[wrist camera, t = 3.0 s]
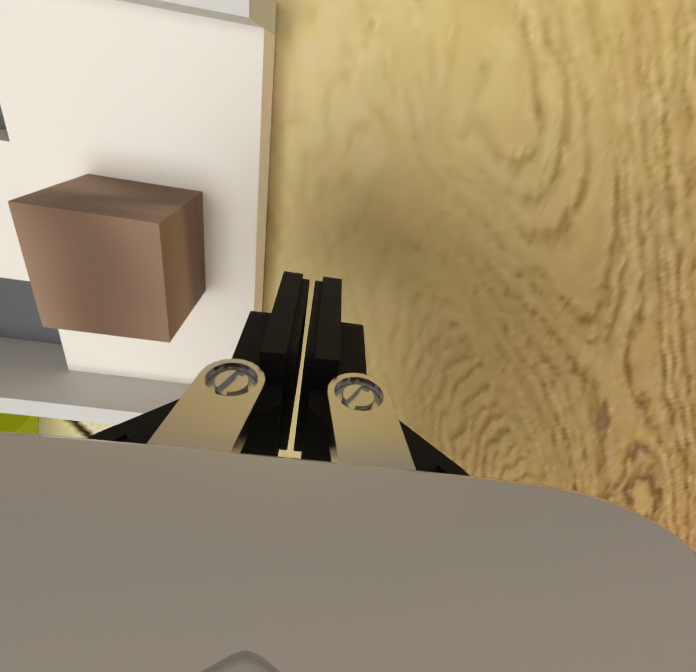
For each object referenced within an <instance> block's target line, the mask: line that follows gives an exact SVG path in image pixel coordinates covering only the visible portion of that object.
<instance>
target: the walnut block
mask: <svg viewBox="0 0 696 672" xmlns="http://www.w3.org/2000/svg"><path fill="white" fill-rule="evenodd" d="M8 205H9V208H10V212H11V215H12V219H13V222H14V226H15V230H16V233H17V237H18V240H19V244H20V247H21V251H22V255H23V258H24V262H25V265H26V269H27V272H28V276H29V280H30V283H31V287H32V290H33V294H34V297H35V301H36V305H37V308H38V312H39V315H40V319H41V322H42V326H43V327H48V328H56V329H64V330H72V331H80V332H88V333H96V334H104V335H112V336H120V337H128V338H136V339H144V340H152V341H160V342H168V343H170V342H171V340H172V339H173V337H174V336H175V334H176V333H177V332H178V330H179V329H180V327H181V326H182V324H183V323H184V321H185V320H186V319H187V317H188V316H189V314H190V313H191V311H192V310H193V308H194V307H195V306H196V304H197V303H198V301H199V300H200V298H201V297H202V295H203V294H204V292H205V291H206V282H205V252H204V222H203V192H202V191H196V190H189V189H183V188H176V187H170V186H163V185H157V184H151V183H144V182H138V181H131V180H125V179H118V178H112V177H105V176H99V175H93V174H86V175H83V176H80V177H77V178H74V179H71V180H68V181H65V182H62V183H59V184H56V185H53V186H50V187H48V188H45V189H42V190H39V191H36V192H33V193H30V194H27V195H24V196H21V197H18V198H15V199H12V200H9V201H8Z"/></svg>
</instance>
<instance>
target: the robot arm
mask: <svg viewBox="0 0 696 672" xmlns="http://www.w3.org/2000/svg"><path fill="white" fill-rule="evenodd" d="M309 281H310V280H307V279H303V274H300V273H293V272H285V271H284V273H283V277H282V280H281V283H280V287H279V290H278V293H277V297H276V300H275V303H274V307H273V310H272V313H266V312H258V311H250V313H249V316H248V318H247V321H246V323H245V326H244V328H243V331H242V334H241V336H240V339H239V341H238V344H237V346H236V349H235V351H234V354H233V357H232V359H223V360H219V361H216V362H213V363H211V364H209V365H207V366H206V367H205V368H204V369H203V370H201V371H200V373H199V374H198V375H197V377H196V378H195V379H194V381H193V382H192V383H191V385H190V386H189V387H188V389H187V390H186V391H185V393H184V394H183V395H182V397H181V398H180V399H177V400H175V401H173V402H170V403H168V404H165V405H163V406H161V407H158V408H156V409H153V410H151V411H149V412H146V413H144V414H141V415H139V416H137V417H134V418H132V419H129V420H127V421H125V422H122V423H120V424H117V425H115V426H113V427H110V428H108V429H105V430H103V431H101V432H98V433H96V434H94V435H92V436H91V437H89V438H87V439H85V438H74V437H63V436H53V435H42V434H27V433H11V432H0V672H696V553H695V552H694V551H693V550H692V549H691V548H690V547H689V546H688V545H687V544H686V543H685V542H684V541H683V540H681V539H680V538H679V537H678V536H676V535H675V534H674V533H672V532H671V531H670V530H668V529H667V528H665V527H663V526H662V525H660V524H658V523H656V522H655V521H653V520H651V519H649V518H647V517H645V516H643V515H641V514H639V513H637V512H635V511H632V510H630V509H627V508H625V507H622V506H620V505H618V504H615V503H613V502H610V501H608V500H605V499H601V498H598V497H595V496H591V495H588V494H585V493H582V492H577V491H573V490H568V489H563V488H558V487H554V486H546V485H539V484H531V483H524V482H517V481H509V480H502V479H493V478H483V477H473V476H469V475H468V474H467V473H466V472H465V471H464V470H463V469H462V468H461V467H459V466H458V465H457V464H455V463H454V462H453V461H452V460H450V459H449V458H448V457H446V456H445V455H444V454H442V453H441V452H440V451H438V450H437V449H436V448H435V447H433V446H432V445H431V444H429V443H428V442H427V441H425V440H424V439H423V438H421V437H420V436H419V435H417V434H416V433H415V432H414V431H412V430H411V429H410V428H408V427H407V426H406V425H404V424H403V423H402V422H400V421H399V419H398V416H397V414H396V411H395V408H394V405H393V402H392V399H391V396H390V393H389V392H388V390H387V388H386V387H385V386H384V385H383V384H382V383H381V382H380V381H379V380H377V379H375V378H373V377H371V376H368V375H367V373H366V359H365V344H364V329H363V325H359V324H351V323H343V322H341V291H342V279H336V278H329V277H323V282H322V281H315V288H314V295H313V302H312V309H311V316H310V323H309V330H308V337H307V344H306V352H305V359H304V367H303V376H302V384H301V393H300V401H299V410H298V418H297V426H296V435H295V443H294V451H301V452H302V455H301V459H297V458H287V457H278V452H279V449H281V450H287V446H288V440H289V433H290V427H291V420H292V414H293V407H294V401H295V394H296V388H297V381H298V375H299V368H300V361H301V353H302V344H303V335H304V326H305V317H306V308H307V300H308V291H309Z"/></svg>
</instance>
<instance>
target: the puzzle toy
mask: <svg viewBox="0 0 696 672" xmlns="http://www.w3.org/2000/svg"><path fill="white" fill-rule="evenodd" d="M38 421H39V417H37V416H27V415H18V414H9V413H0V432H11V433H27V434H37V433H38Z"/></svg>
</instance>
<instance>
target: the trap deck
mask: <svg viewBox="0 0 696 672" xmlns="http://www.w3.org/2000/svg"><path fill="white" fill-rule="evenodd" d="M276 12H277V3H276V2H275V1H274V0H0V413H9V414H18V415H27V416H37V417H46V418H55V419H65V420H74V421H83V422H93V423H102V424H111V425H117V424H120V423H122V422H125V421H127V420H129V419H132V418H134V417H137V416H139V415H141V414H144V413H146V412H149V411H151V410H153V409H156V408H158V407H161V406H163V405H165V404H168V403H170V402H173V401H175V400H177V399H180V398H181V397H182V395H183V394H184V393H185V391H186V390H187V389H188V387H189V386H190V385H191V383H192V382H193V381H194V379H195V378H196V377H197V375H198V374H199V373H200V371H201V370H203V369H204V368H205V367H206V366H207V365H209V364H211V363H213V362H216V361H219V360H223V359H232V357H233V354H234V351H235V349H236V346H237V344H238V341H239V339H240V336H241V334H242V331H243V328H244V326H245V323H246V321H247V318H248V316H249V313H250V311H258V312H262V302H263V281H264V260H265V240H266V219H267V198H268V177H269V157H270V136H271V115H272V95H273V74H274V53H275V33H276ZM86 174H93V175H99V176H105V177H112V178H118V179H125V180H131V181H138V182H144V183H151V184H157V185H163V186H170V187H176V188H183V189H189V190H196V191H202V192H203V222H204V252H205V282H206V291H205V292H204V294H203V295H202V297H201V298H200V300H199V301H198V303H197V304H196V306H195V307H194V308H193V310H192V311H191V313H190V314H189V316H188V317H187V319H186V320H185V321H184V323H183V324H182V326H181V327H180V329H179V330H178V332H177V333H176V334H175V336H174V337H173V339H172V340H171V342H170V343H168V342H160V341H152V340H144V339H136V338H128V337H120V336H112V335H104V334H96V333H88V332H80V331H72V330H64V329H56V328H48V327H43V326H42V322H41V319H40V315H39V312H38V308H37V305H36V301H35V297H34V294H33V290H32V287H31V283H30V280H29V276H28V272H27V269H26V265H25V262H24V258H23V255H22V251H21V247H20V244H19V240H18V237H17V233H16V230H15V226H14V222H13V219H12V215H11V212H10V208H9V205H8V201H9V200H12V199H15V198H18V197H21V196H24V195H27V194H30V193H33V192H36V191H39V190H42V189H45V188H48V187H50V186H53V185H56V184H59V183H62V182H65V181H68V180H71V179H74V178H77V177H80V176H83V175H86Z"/></svg>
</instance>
